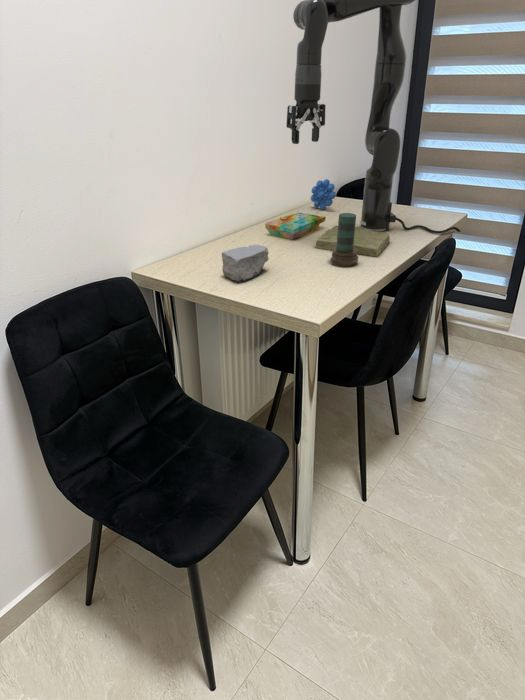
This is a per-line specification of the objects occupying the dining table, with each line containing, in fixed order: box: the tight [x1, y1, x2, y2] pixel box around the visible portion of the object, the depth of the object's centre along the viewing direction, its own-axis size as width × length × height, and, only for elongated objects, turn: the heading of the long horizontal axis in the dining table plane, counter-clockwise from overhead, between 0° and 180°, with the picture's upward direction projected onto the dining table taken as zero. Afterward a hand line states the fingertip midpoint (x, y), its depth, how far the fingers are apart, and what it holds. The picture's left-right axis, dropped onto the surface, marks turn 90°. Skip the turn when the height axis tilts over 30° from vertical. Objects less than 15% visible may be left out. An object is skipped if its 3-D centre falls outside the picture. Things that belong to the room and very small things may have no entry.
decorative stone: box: [221, 244, 269, 283], centre depth 141 cm, size 15×7×10 cm
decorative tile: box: [315, 225, 391, 257], centre depth 166 cm, size 19×20×4 cm
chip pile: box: [329, 247, 359, 268], centre depth 150 cm, size 8×8×4 cm
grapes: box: [310, 178, 337, 211], centre depth 205 cm, size 12×7×12 cm, turn 49°
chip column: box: [336, 212, 357, 252], centre depth 147 cm, size 5×5×10 cm
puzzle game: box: [264, 211, 327, 240], centre depth 179 cm, size 12×5×20 cm
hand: (305, 142), depth 157 cm, fingers open, 8 cm apart
